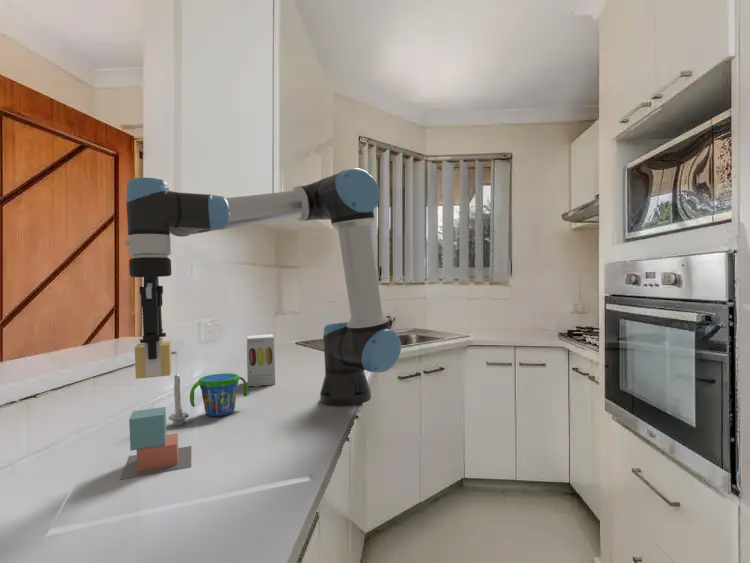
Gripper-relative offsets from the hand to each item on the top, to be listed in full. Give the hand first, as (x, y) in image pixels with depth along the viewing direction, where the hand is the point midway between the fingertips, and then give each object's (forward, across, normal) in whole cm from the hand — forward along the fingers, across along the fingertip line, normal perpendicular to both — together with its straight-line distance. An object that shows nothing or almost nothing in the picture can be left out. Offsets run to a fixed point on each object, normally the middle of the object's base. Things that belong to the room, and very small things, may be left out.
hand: (155, 372), depth 90 cm
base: (+19, 0, 0) cm, 19 cm away
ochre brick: (0, 0, 0) cm, 0 cm away
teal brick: (+14, 0, -2) cm, 14 cm away
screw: (+19, -27, +3) cm, 33 cm away
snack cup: (+19, -31, +13) cm, 39 cm away
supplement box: (+19, -63, +29) cm, 72 cm away
